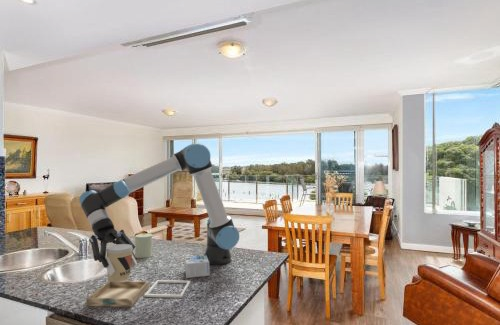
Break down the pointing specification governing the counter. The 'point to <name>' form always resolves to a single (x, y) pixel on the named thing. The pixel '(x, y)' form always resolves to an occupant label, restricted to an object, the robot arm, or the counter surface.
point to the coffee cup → (120, 261)
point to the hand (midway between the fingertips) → (124, 269)
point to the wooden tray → (118, 294)
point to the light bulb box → (196, 266)
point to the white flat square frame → (167, 294)
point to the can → (143, 245)
